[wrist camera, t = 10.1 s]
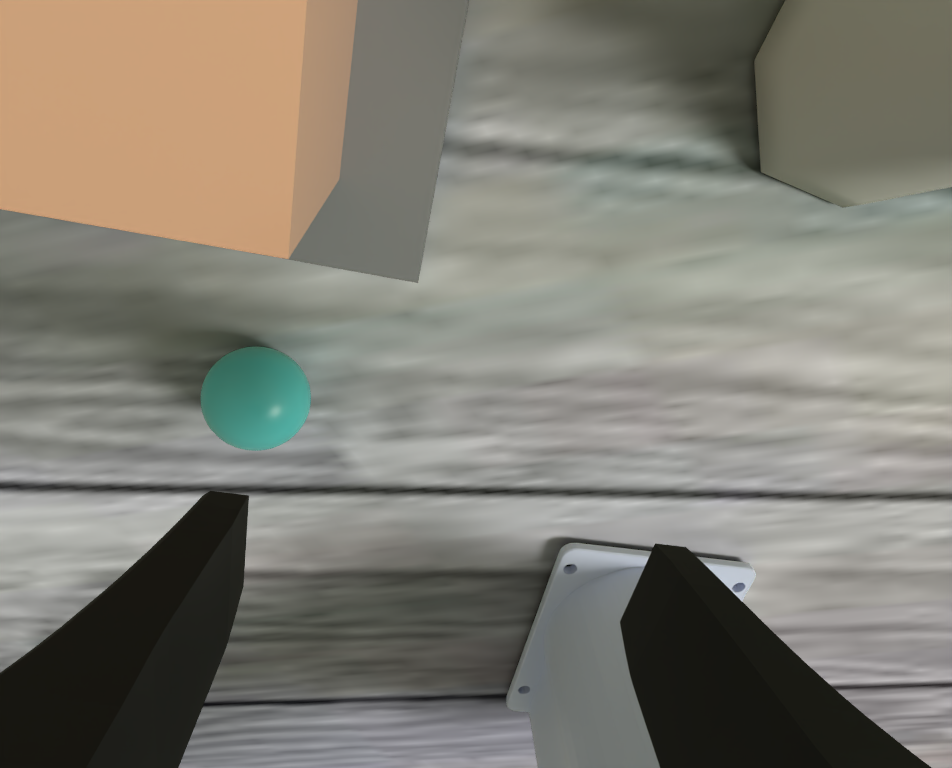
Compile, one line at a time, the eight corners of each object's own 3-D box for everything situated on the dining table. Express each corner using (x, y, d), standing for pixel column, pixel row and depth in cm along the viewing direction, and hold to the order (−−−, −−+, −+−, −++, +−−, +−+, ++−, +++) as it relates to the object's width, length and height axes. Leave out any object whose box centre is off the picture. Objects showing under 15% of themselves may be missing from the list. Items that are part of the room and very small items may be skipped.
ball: (313, 422, 20) (296, 478, 18) (216, 408, 20) (185, 464, 17) (322, 339, 19) (306, 385, 16) (219, 322, 18) (185, 368, 16)
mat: (418, 276, 18) (417, 282, 18) (45, 207, 17) (32, 213, 16) (495, -154, 14) (498, -163, 13) (-7, -308, 12) (-26, -324, 12)
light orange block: (339, 179, 16) (288, 259, 10) (133, 138, 15) (-59, 199, 9) (362, -48, 14) (315, -125, 8) (124, -110, 13) (-140, -251, 7)
